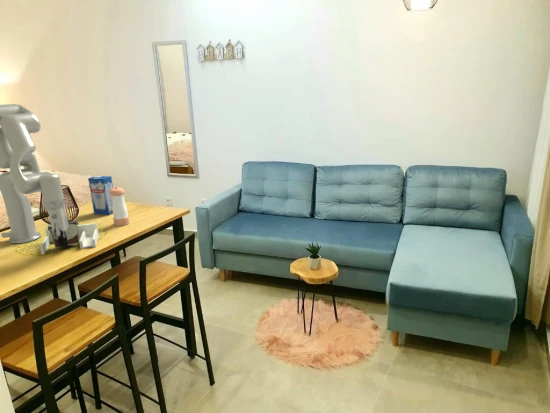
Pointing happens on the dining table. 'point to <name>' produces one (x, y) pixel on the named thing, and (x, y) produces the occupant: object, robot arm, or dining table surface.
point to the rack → (85, 233)
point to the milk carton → (101, 194)
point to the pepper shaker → (119, 207)
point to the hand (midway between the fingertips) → (63, 246)
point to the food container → (67, 234)
